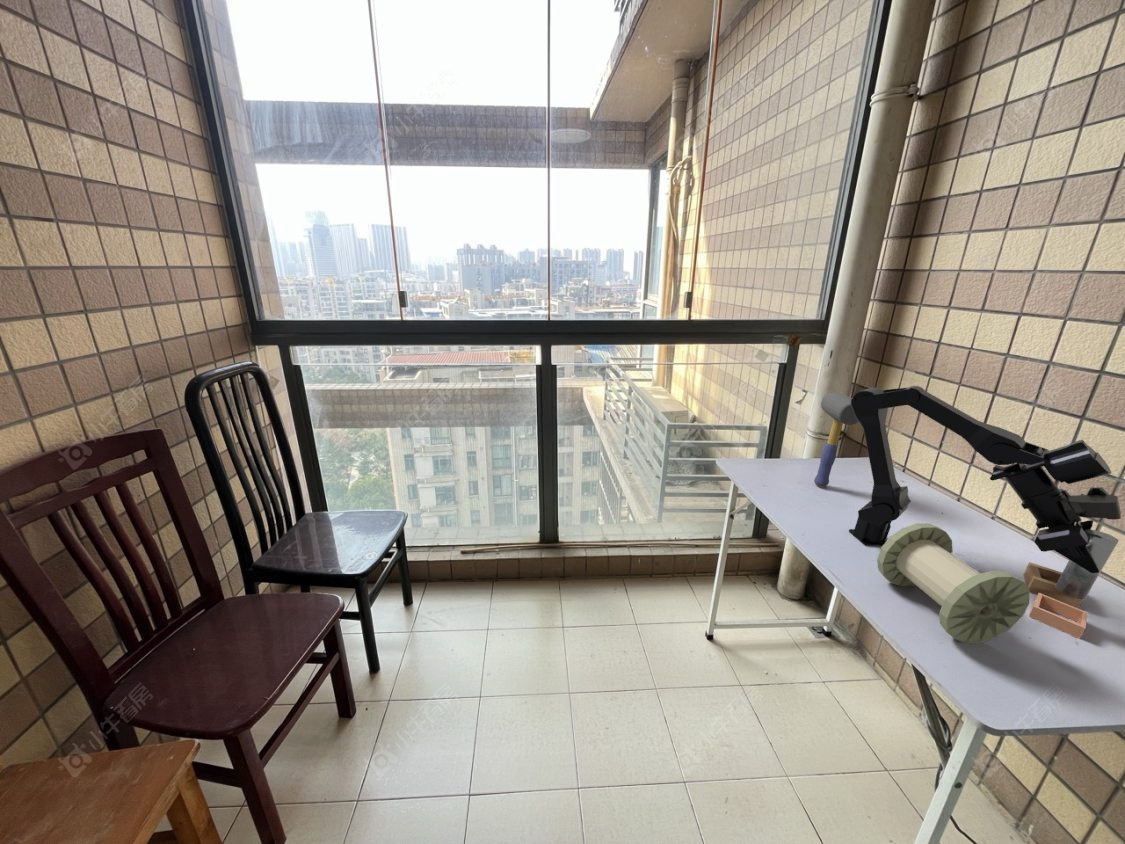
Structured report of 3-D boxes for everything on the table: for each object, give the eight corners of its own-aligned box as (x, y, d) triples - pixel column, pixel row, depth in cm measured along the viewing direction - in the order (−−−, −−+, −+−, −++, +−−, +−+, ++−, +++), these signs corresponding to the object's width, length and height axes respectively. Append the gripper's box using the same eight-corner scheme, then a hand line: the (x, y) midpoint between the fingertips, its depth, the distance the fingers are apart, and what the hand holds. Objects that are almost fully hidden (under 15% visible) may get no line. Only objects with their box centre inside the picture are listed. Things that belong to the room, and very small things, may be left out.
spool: (869, 581, 95) (889, 523, 89) (932, 580, 96) (955, 523, 91) (935, 643, 79) (964, 577, 74) (1009, 641, 80) (1043, 576, 75)
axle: (1064, 596, 82) (1096, 539, 78) (1049, 582, 86) (1079, 527, 82) (1091, 601, 81) (1125, 544, 77) (1074, 587, 85) (1106, 531, 80)
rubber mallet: (842, 496, 131) (870, 402, 120) (816, 494, 131) (842, 401, 121) (823, 478, 142) (847, 391, 132) (799, 476, 143) (821, 389, 133)
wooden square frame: (1027, 591, 93) (1034, 578, 92) (1022, 574, 99) (1029, 562, 98) (1077, 608, 89) (1085, 595, 88) (1070, 590, 94) (1077, 577, 93)
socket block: (1028, 616, 86) (1033, 606, 86) (1033, 602, 90) (1038, 592, 90) (1079, 638, 81) (1085, 628, 81) (1082, 622, 85) (1087, 612, 85)
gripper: (1092, 491, 73) (1164, 580, 69) (1097, 465, 84) (1160, 540, 80) (1009, 510, 82) (1069, 591, 77) (1024, 484, 93) (1077, 553, 88)
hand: (1096, 568), depth 80 cm, fingers closed on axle, 4 cm apart
